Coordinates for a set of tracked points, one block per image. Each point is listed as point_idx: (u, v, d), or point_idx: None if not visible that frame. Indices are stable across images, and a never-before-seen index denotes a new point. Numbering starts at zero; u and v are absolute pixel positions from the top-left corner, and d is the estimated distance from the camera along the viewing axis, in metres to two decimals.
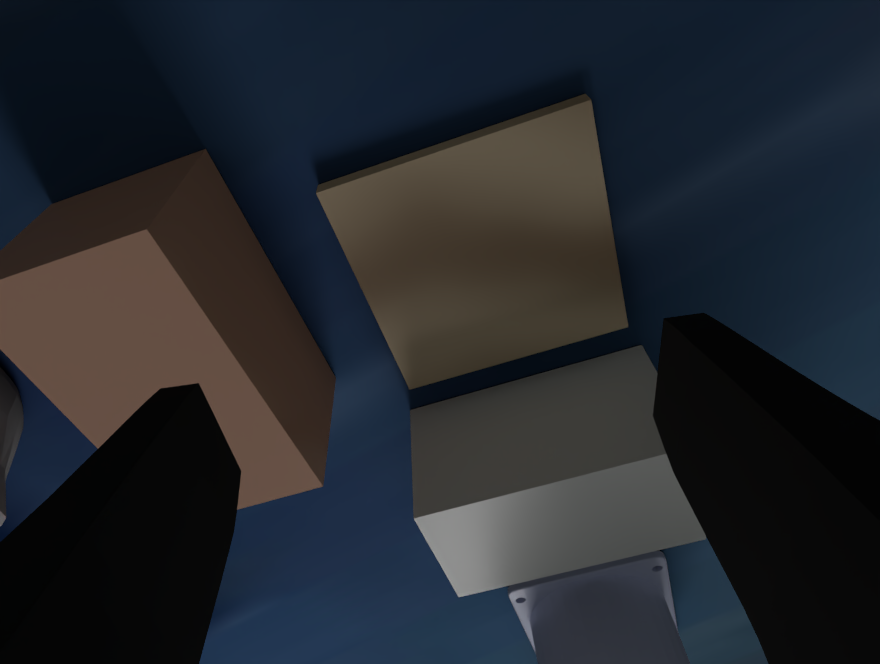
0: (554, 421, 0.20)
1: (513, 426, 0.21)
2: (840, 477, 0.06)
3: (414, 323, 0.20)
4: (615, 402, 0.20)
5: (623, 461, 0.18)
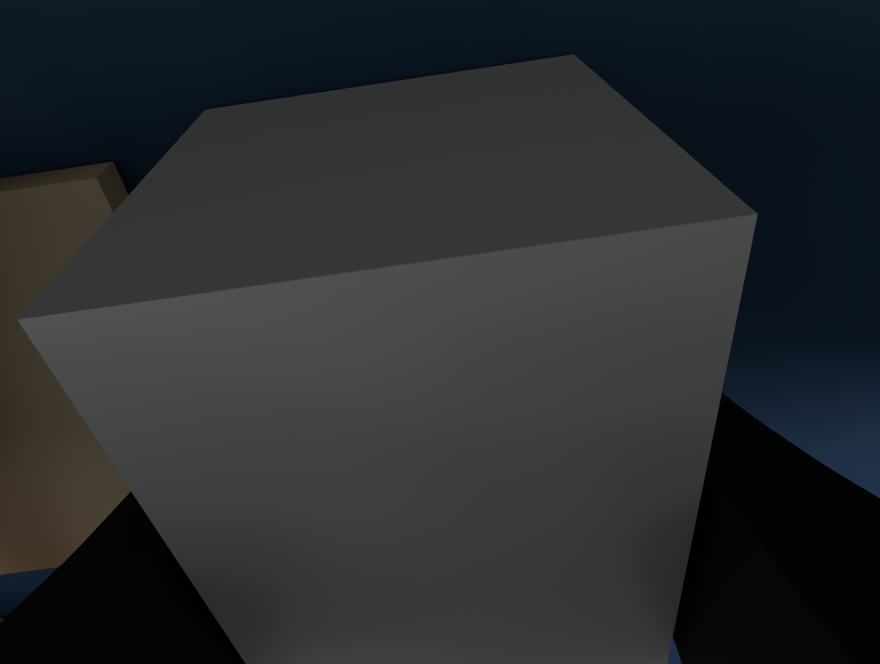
0: None
1: None
2: (728, 492, 0.06)
3: None
4: None
5: None
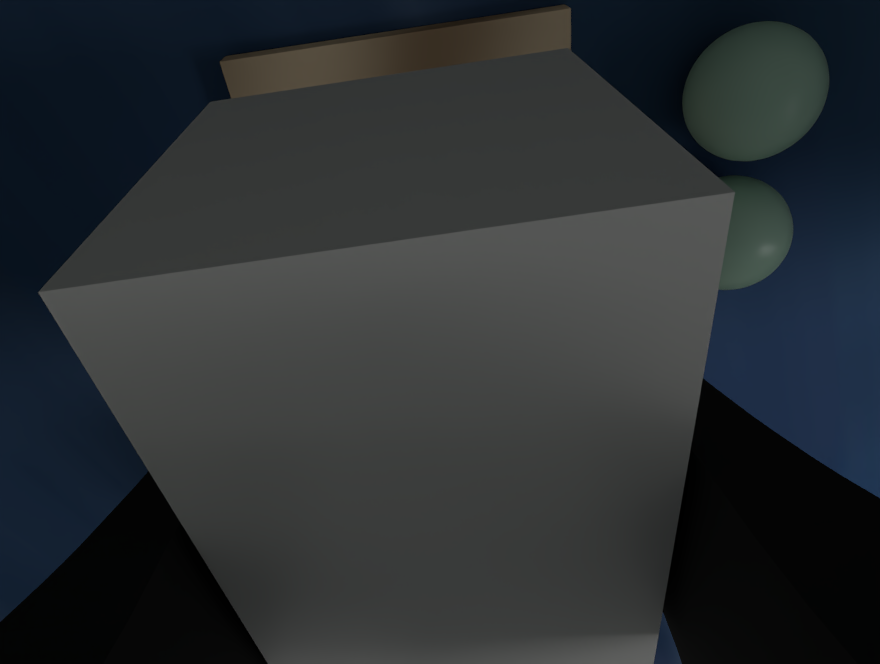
0: None
1: None
2: (728, 492, 0.06)
3: None
4: None
5: None
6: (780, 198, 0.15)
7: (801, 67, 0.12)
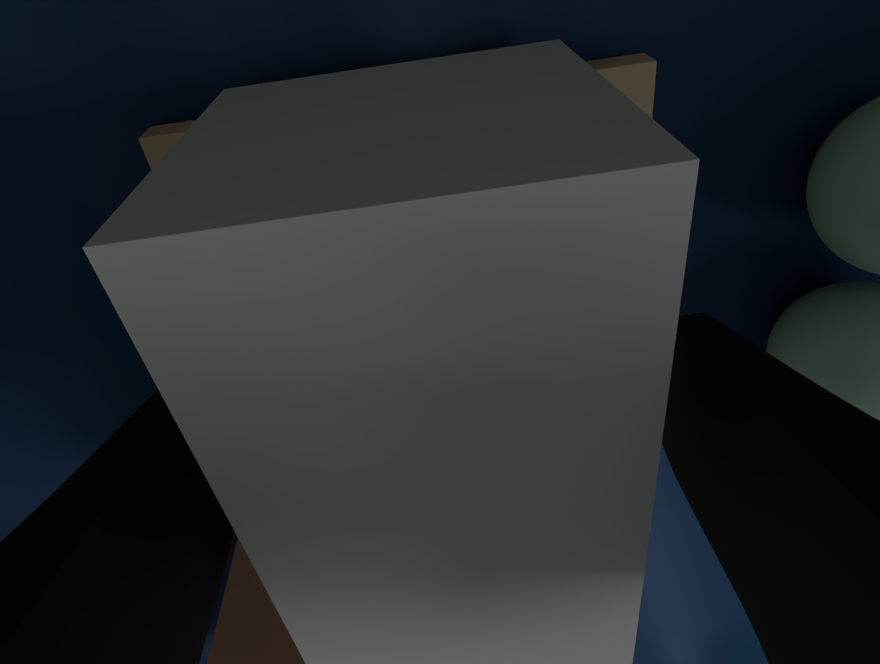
0: None
1: None
2: (840, 477, 0.06)
3: None
4: None
5: None
6: None
7: None
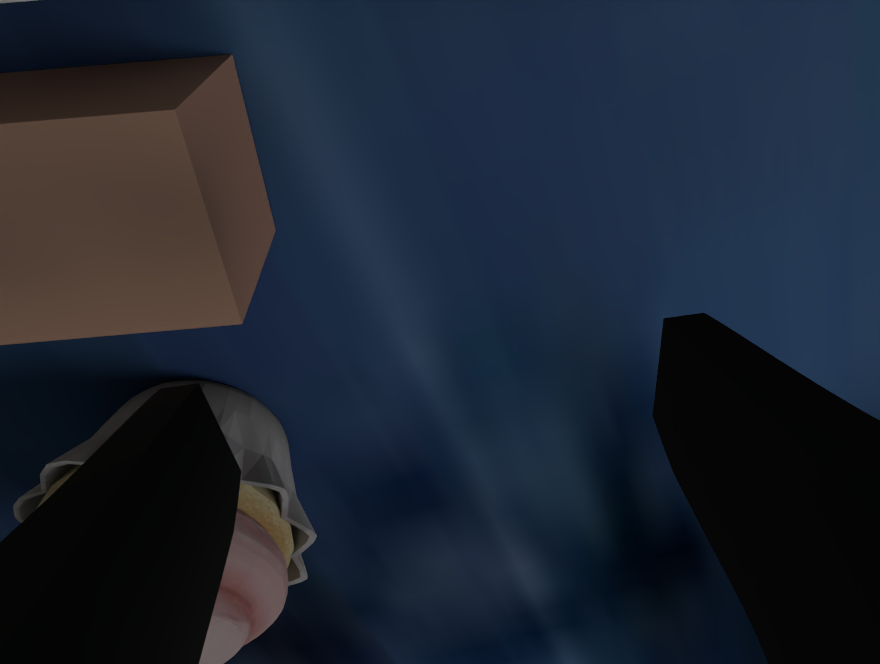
0: None
1: None
2: (840, 477, 0.06)
3: None
4: None
5: None
6: None
7: None
